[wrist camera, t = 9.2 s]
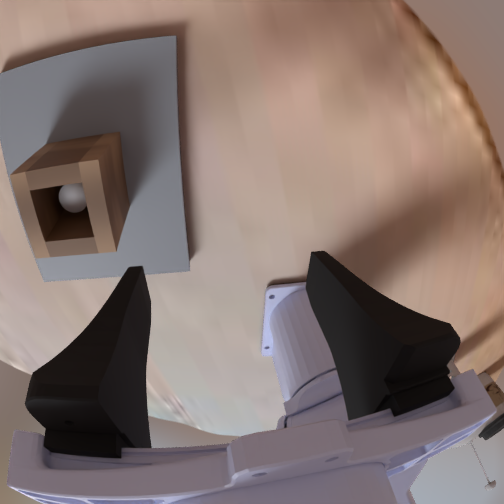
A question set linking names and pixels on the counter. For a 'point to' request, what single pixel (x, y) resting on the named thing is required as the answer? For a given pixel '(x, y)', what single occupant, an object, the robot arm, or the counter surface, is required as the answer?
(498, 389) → the coffee cup
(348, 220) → the counter surface
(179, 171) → the pin plate
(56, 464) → the robot arm
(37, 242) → the walnut collar
